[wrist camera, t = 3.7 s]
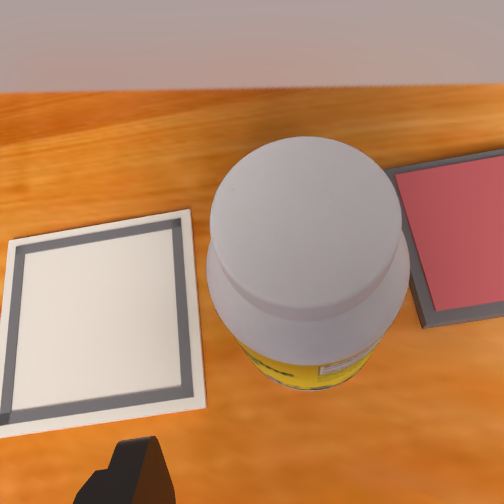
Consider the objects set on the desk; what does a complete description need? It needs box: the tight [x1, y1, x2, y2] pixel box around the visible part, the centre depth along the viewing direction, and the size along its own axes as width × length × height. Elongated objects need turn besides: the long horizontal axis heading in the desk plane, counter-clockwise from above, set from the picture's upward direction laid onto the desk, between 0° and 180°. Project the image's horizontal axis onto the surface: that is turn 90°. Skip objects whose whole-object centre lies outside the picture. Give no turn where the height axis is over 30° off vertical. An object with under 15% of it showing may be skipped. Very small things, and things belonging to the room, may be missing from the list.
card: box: [0, 209, 207, 438], centre depth 22 cm, size 10×10×1 cm
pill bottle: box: [206, 136, 410, 391], centre depth 16 cm, size 6×6×11 cm
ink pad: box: [383, 149, 504, 329], centre depth 21 cm, size 8×8×1 cm
